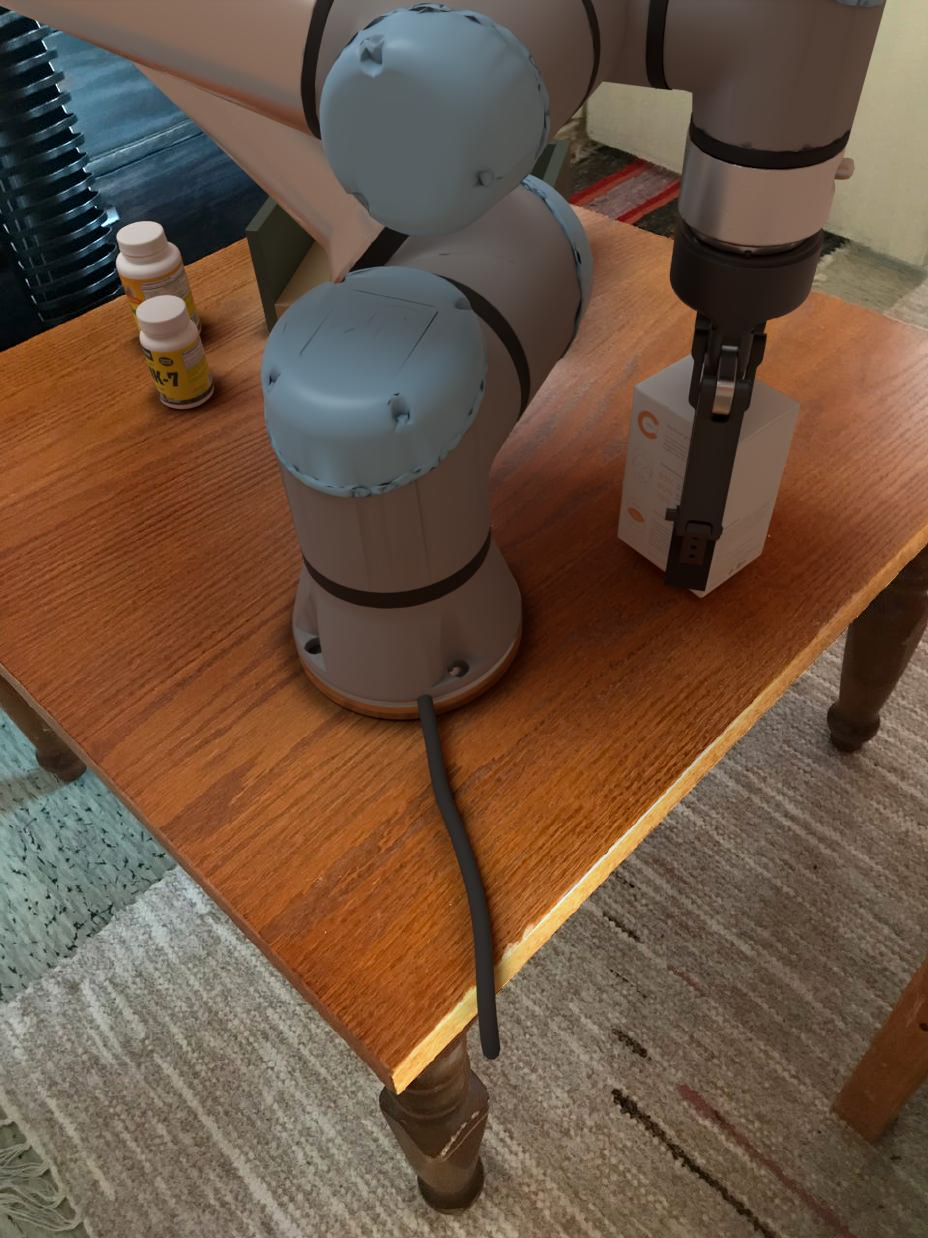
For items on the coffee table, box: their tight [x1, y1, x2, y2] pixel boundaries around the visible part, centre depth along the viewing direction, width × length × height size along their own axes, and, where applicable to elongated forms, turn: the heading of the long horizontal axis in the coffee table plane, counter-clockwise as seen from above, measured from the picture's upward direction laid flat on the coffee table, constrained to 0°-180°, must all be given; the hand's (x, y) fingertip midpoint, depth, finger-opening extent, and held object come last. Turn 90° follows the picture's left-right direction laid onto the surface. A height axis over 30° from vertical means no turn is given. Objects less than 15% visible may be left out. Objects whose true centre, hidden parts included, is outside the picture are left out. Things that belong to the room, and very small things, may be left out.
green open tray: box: [244, 138, 572, 333], centre depth 91 cm, size 20×25×10 cm
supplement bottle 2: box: [136, 295, 215, 410], centre depth 82 cm, size 5×5×8 cm
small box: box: [616, 353, 802, 599], centre depth 64 cm, size 8×6×13 cm
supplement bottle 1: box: [115, 220, 202, 335], centre depth 87 cm, size 6×6×10 cm
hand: (691, 529), depth 68 cm, fingers closed on small box, 10 cm apart
